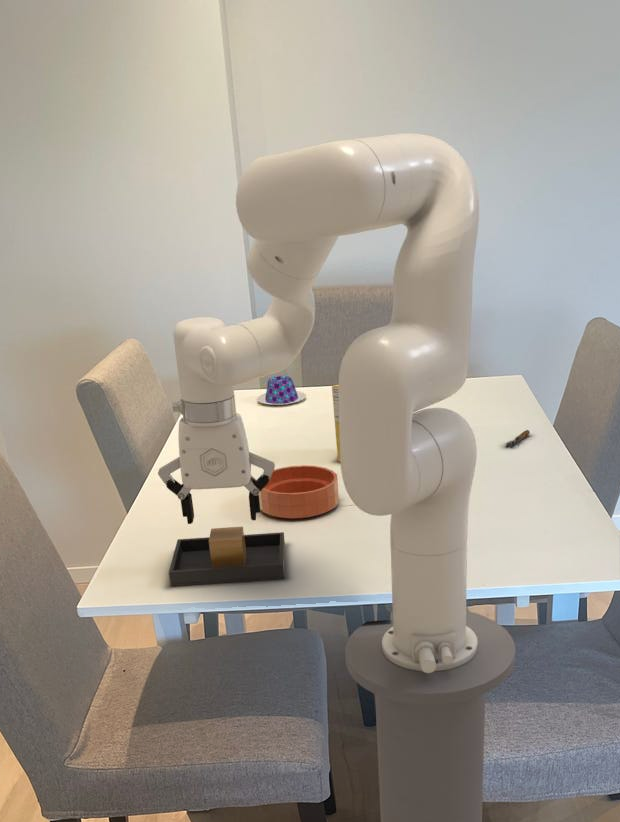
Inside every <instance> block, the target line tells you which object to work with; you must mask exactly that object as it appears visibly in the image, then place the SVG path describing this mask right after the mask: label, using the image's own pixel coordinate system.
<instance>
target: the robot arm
mask: <svg viewBox="0 0 620 822" xmlns="http://www.w3.org/2000/svg"><path fill="white" fill-rule="evenodd" d="M479 201H480V200H479V193H478V189H477V184H476V180H475V178H474V175H473V172H472V170H471V169H470V167H469V164H468V163H467V162H466V160H465V159H464V157H463V156H462V155H461V153H460V152H459V151H458V150H457V149H456V148H455V147H453V146H452V145H451V144H449V143H447V142H446V141H445V140H442V139H440V138H438V137H436V136H433V135H428V134H422V133H411V132H410V133H408V132H407V133H394V134H383V135H377V136H367V137H359V138H349V139H341V140H335V141H328V142H325V143H320V144H316V145H310V146H306V147H302V148H299V149H294V150H290V151H286V152H282V153H277V154H270V155H269V154H268V155H264V156H260V157H257V159H255V160H253V161H252V162H251V163H250V164H249V165H248V166H247V167H246V169H245V170H244V171H243V172H242V175H241V177H240V179H239V180H238V184H237V187H236V193H235V207H236V213H237V216H238V220H239V222H240V225H241V226H242V228H243V229H244V231H245V232H246V233H247V234H248V235H249V236H250V237H251V238H253V239H254V240H253V242H252V244H251V247H250V248H249V251H248V253H247V257H246V266H247V271H248V273H249V276H250V277H251V278H252V280H253V282H255V284H256V285H257V286H258V287H259V288H260V289H261V290H262V291H264V292H265V293H267V294H268V295H270V296H271V297H273V299H272V301H271V303H270V305H269V307H268V308H267V310H266V312H265V313H264V315H262V317H257V318H253V319H249V320H245V321H242V322H238V323H234V324H231V325H227V324H226V323H225V322H224V320H221V319H219V318H216V317H209V316H198V317H189V318H186V319H183V320H181V321H179V322H177V323H176V324H175V326H174V327H173V331H172V336H173V344H174V352H175V359H176V360H175V361H176V366H177V374H178V383H179V389H180V396H181V399H180V400H179V401H177V402H172V404H171V406H172V412H173V413H178V414H179V413H180V414H181V415H182V417H181V418H180V420H179V421H178V454H179V456H178V457H176V458H175V459H173V460H171V461H170V462H168V463H166V464H164V465H163V466H161V467H159V469H158V472H157V475H158V477H159V478H160V479H161V481H162V482H163V483H164V484H165V486H166V488H167V489H168V490H169V491H170V492H172V493H173V494H174V495H175V496H177V498H178V500H180V507H181V513H182V517H183V518H186V521H187V524H188V525H192V524H193V523H194V520H195V510H194V503H193V497H192V495H193V494H192V493H191V490H213V489H214V490H215V489H231V488H232V489H233V488H241V487H244V488H245V489H246V490H247V491H249V492H248V503H249V512H250V513H249V514H250V520H252V521H256V520H257V513H258V514H260V513H261V509H260V501H259V493H260V491H261V490H262V489H263V488H264V487H265V486H266V485H267V484H268V482H269V479H270V477H271V475H272V473H273V471H274V470H275V469H276V463H275V462H274V461H272V460H270V459H267V458H265V457H262V456H260V455H258V454H255V453H253V452H250V448H249V443H248V437H247V432H246V428H245V425H244V421H243V418H242V415H241V414H240V413H238V412H237V407H236V397H235V396H236V395H235V389H234V387H236V386H240V385H241V384H246V383H249V382H251V381H253V380H254V381H255V380H257V379H260V378H263V377H266V376H270V375H273V374H277V373H279V372H282V371H284V370H285V369H286V368H288V367H290V365H291V364H292V363H294V361H295V360H296V359H297V357H298V355H299V354H300V352H301V351H302V349H303V347H304V345H305V344H306V343H307V340H308V339H309V337H310V335H311V333H312V331H313V329H314V325H315V319H316V299H315V295H314V291H313V288H312V287H313V285H314V283H315V281H316V280H317V277H318V275H319V274H320V272H321V270H322V268H323V266H324V264H325V263H326V260H327V259H328V257H329V255H330V253H331V252H332V250H333V248H334V245H335V244H336V243H337V240H338V239H339V237H341V236H349V235H354V234H359V233H364V232H368V231H373V230H379V229H383V228H389V227H393V226H397V225H398V226H399V225H404V226H405V227H406V229H407V230H406V231H407V232H406V235H405V237H404V240H403V242H402V244H401V247H400V250H399V252H398V254H397V258H396V260H395V265H394V270H393V276H392V288H393V289H392V292H393V293H392V295H393V298H392V313H391V319H390V321H389V322H388V324H386V325H383V326H379V327H376V328H373V329H371V330H368V331H366V332H364V333H363V334H361V335H359V336H358V337H357V338H355V339H354V340H353V341H352V342H351V344H350V345H349V346H348V348H347V349H346V351H345V353H344V356H343V358H342V361H341V364H340V367H339V374H338V384H339V390H338V393H339V432H340V462H339V463H340V471H341V478H342V482H343V485H344V489H345V490H346V493H347V495H348V496H349V498H350V499H351V502H352V503H353V504H354V505H355V506H356V507H357V508H358V509H359V510H360V511H362V512H363V513H364V514H365V513H366V514H367V515H369V516H370V515H371V516H375V517H383V516H389V515H390V523H389V537H390V538H389V539H390V540H389V541H390V544H389V545H390V573H391V574H390V575H391V603H392V608H391V609H392V612H393V627H392V628H390V629H389V630H388V631H387V632H386V633H385V634H384V636H383V638H382V651H383V653H384V655H385V656H386V658H387V659H389V660H390V661H391V662H392V663H394V664H396V665H398V666H400V667H403V668H406V669H410V670H414V671H423V672H425V673H431V672H435V671H444V670H449V669H453V668H456V667H459V666H461V665H463V664H465V663H467V662H468V661H469V660H471V659H472V658H473V656H474V655H475V654H476V652H477V646H478V640H477V636H476V635H475V633H474V632H473V631H472V630H471V629H470V628H469V627H467V626H466V611H467V589H468V588H467V584H468V583H467V582H468V581H467V579H468V577H467V576H468V575H467V574H468V533H469V532H468V530H469V529H468V528H469V510H470V509H469V508H470V499H471V492H472V487H473V481H474V476H475V472H476V466H477V457H478V456H477V455H478V454H477V452H478V451H477V442H476V436H475V434H474V431H473V428H472V427H471V425H470V424H469V422H468V421H467V419H465V418H464V417H463V416H462V415H461V414H459V413H458V412H456V411H454V410H452V409H449V408H445V407H430V406H433V405H435V404H437V403H439V402H442V401H444V400H446V399H448V398H451V397H452V396H453V395H455V394H456V393H457V392H458V391H460V390H461V388H462V387H463V386H464V384H465V382H466V380H467V376H468V372H469V367H470V366H469V365H470V354H471V352H470V351H471V332H472V331H471V329H472V311H473V310H472V309H473V308H472V307H473V279H474V265H475V257H476V248H477V241H478V231H479V223H480V222H479V221H480V202H479ZM428 407H429V408H428ZM252 465H253V466H255V467H257V468H259V469H262V470H263V471H262V474H261V475H259V477H258V478H257V479H256V478H255V477H254V476H253V475H252V472H251V471H252ZM179 469H180V476H181V482H182V483H180V482H178V480H176V479H175V478H174V477H173V476H172V474H173V473H174V472H175V471H178V470H179Z"/></svg>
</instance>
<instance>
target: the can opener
mask: <svg viewBox="0 0 620 822" xmlns="http://www.w3.org/2000/svg"><path fill="white" fill-rule="evenodd" d="M530 433H531V432H530V430H529V429H526V430H524V431H522V432H521V433H520V434H519V435H518V436H516V437H515V438H514V440H510V441H508V442H506V443H505V446H506V447H507V446H509V447H513V446H514V445H515V443H520V442H521V441H522V440H523V439H525V438H526V437H528V436H529V435H530Z"/></svg>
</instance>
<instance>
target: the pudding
mask: <svg viewBox="0 0 620 822" xmlns="http://www.w3.org/2000/svg"><path fill="white" fill-rule="evenodd" d="M265 391H266V392H265V393H263V394H260V395H259V396H258V397H256V401H257V402H258V403H261V404H265V405H272V406H284V405H289V404H294V403H297V402H300V401H302V400H304V399H306V398H307V394H306V393H305V392H303V391H299V390H297V389H296V385H295V382H294V379H293V378H292V377H290V376H287V375H278V376H273V377H270V378H269V379H268V380H267V384H266V390H265Z"/></svg>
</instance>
